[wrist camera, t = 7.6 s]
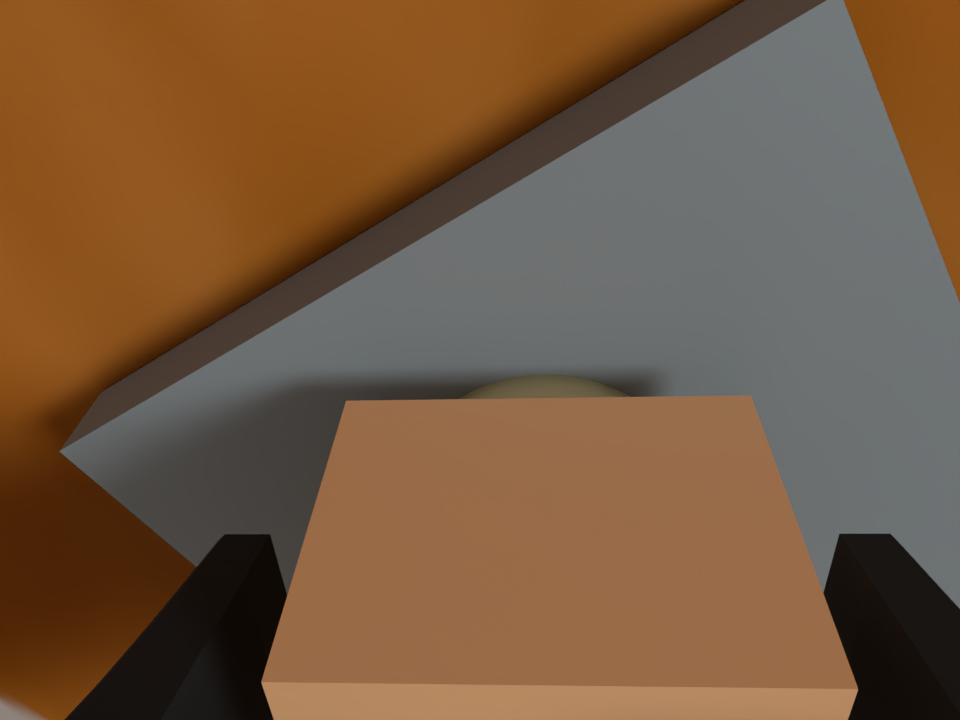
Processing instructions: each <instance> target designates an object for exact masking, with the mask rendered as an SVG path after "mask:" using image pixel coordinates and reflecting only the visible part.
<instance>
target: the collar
mask: <svg viewBox="0 0 960 720" xmlns="http://www.w3.org/2000/svg"><path fill="white" fill-rule="evenodd" d="M261 683H262V686H263V689H264V692H265V695H266V698H267V701H268V704H269V707H270V710H271V713H272V716H273V719H274V720H848V718H849V715H850V712H851V709H852V706H853V703H854V700H855V698H856V695H857V692H858V687H857V684H856V681H855V679H854V676H853V673H852V670H851V668H850V665H849V662H848V659H847V657H846V654H845V651H844V648H843V646H842V643H841V640H840V638H839V635H838V632H837V629H836V627H835V624H834V621H833V618H832V616H831V613H830V610H829V607H828V605H827V602H826V599H825V597H824V594H823V591H822V588H821V586H820V583H819V580H818V577H817V575H816V572H815V569H814V566H813V564H812V561H811V558H810V556H809V553H808V550H807V547H806V545H805V542H804V539H803V536H802V534H801V531H800V528H799V525H798V523H797V520H796V517H795V515H794V512H793V509H792V506H791V504H790V501H789V498H788V495H787V493H786V490H785V487H784V484H783V482H782V479H781V476H780V474H779V471H778V468H777V465H776V463H775V460H774V457H773V454H772V452H771V449H770V446H769V443H768V441H767V438H766V435H765V433H764V430H763V427H762V424H761V422H760V419H759V416H758V413H757V411H756V408H755V405H754V402H753V400H752V397H751V395H736V396H661V397H586V398H510V399H435V400H360V401H346V403H345V406H344V409H343V413H342V416H341V419H340V423H339V426H338V429H337V433H336V436H335V439H334V443H333V446H332V449H331V452H330V456H329V459H328V462H327V466H326V469H325V472H324V476H323V479H322V482H321V486H320V489H319V492H318V496H317V499H316V502H315V505H314V509H313V512H312V515H311V519H310V522H309V525H308V529H307V532H306V535H305V539H304V542H303V545H302V549H301V552H300V555H299V558H298V562H297V565H296V568H295V572H294V575H293V578H292V582H291V585H290V588H289V592H288V595H287V598H286V602H285V605H284V608H283V611H282V615H281V618H280V621H279V625H278V628H277V631H276V635H275V638H274V641H273V645H272V648H271V651H270V655H269V658H268V661H267V664H266V668H265V671H264V674H263V678H262V681H261Z"/></svg>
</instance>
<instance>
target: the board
mask: <svg viewBox="0 0 960 720" xmlns="http://www.w3.org/2000/svg"><path fill="white" fill-rule="evenodd" d="M736 395H751V397H752V400H753V402H754V405H755V408H756V411H757V413H758V416H759V419H760V422H761V424H762V427H763V430H764V433H765V435H766V438H767V441H768V443H769V446H770V449H771V452H772V454H773V457H774V460H775V463H776V465H777V468H778V471H779V474H780V476H781V479H782V482H783V484H784V487H785V490H786V493H787V495H788V498H789V501H790V504H791V506H792V509H793V512H794V515H795V517H796V520H797V523H798V525H799V528H800V531H801V534H802V536H803V539H804V542H805V545H806V547H807V550H808V553H809V556H810V558H811V561H812V564H813V566H814V569H815V572H816V575H817V577H818V580H819V583H820V586H821V588H822V591H823V592H824V589H825V585H826V581H827V578H828V574H829V570H830V566H831V563H832V559H833V555H834V552H835V548H836V544H837V541H838V537H839V534H891V535H892V536H893V537H894V538H895V539H896V540H897V541H898V542H899V543H900V544H901V545H902V546H903V547H904V548H905V549H906V551H907V552H908V553H909V554H910V555H911V556H912V557H913V558H914V559H915V560H916V561H917V563H918V564H919V565H920V566H921V567H922V568H923V569H924V570H925V571H926V572H927V573H928V575H929V576H930V577H931V578H932V579H933V580H934V581H935V582H936V583H937V584H938V586H939V587H940V588H941V589H942V590H943V591H944V592H945V593H946V594H947V595H948V596H949V597H950V599H951V600H952V601H953V602H954V603H955V604H956V605H957V606H958V607H959V608H960V303H959V300H958V298H957V295H956V292H955V290H954V287H953V285H952V282H951V279H950V277H949V274H948V272H947V269H946V266H945V264H944V261H943V258H942V256H941V253H940V251H939V248H938V245H937V243H936V240H935V238H934V235H933V232H932V230H931V227H930V225H929V222H928V219H927V217H926V214H925V212H924V209H923V206H922V204H921V201H920V199H919V196H918V193H917V191H916V188H915V186H914V183H913V180H912V178H911V175H910V173H909V170H908V167H907V165H906V162H905V160H904V157H903V154H902V152H901V149H900V147H899V144H898V141H897V139H896V136H895V133H894V131H893V128H892V126H891V123H890V120H889V118H888V115H887V113H886V110H885V107H884V105H883V102H882V100H881V97H880V94H879V92H878V89H877V87H876V84H875V81H874V79H873V76H872V74H871V71H870V68H869V66H868V63H867V61H866V58H865V55H864V53H863V50H862V48H861V45H860V42H859V40H858V37H857V35H856V32H855V29H854V27H853V24H852V21H851V19H850V16H849V14H848V11H847V8H846V6H845V3H844V1H843V0H745V1H743V2H741V3H740V4H738V5H736V6H735V7H733V8H732V9H730V10H728V11H727V12H725V13H723V14H722V15H720V16H718V17H717V18H715V19H713V20H712V21H710V22H709V23H707V24H705V25H704V26H702V27H700V28H699V29H697V30H695V31H694V32H692V33H690V34H689V35H687V36H686V37H684V38H682V39H681V40H679V41H677V42H676V43H674V44H672V45H671V46H669V47H667V48H666V49H664V50H663V51H661V52H659V53H658V54H656V55H654V56H653V57H651V58H649V59H648V60H646V61H644V62H643V63H641V64H640V65H638V66H636V67H635V68H633V69H631V70H630V71H628V72H626V73H625V74H623V75H621V76H620V77H618V78H617V79H615V80H613V81H612V82H610V83H608V84H607V85H605V86H603V87H602V88H600V89H598V90H597V91H595V92H594V93H592V94H590V95H589V96H587V97H585V98H584V99H582V100H580V101H579V102H577V103H575V104H574V105H572V106H571V107H569V108H567V109H566V110H564V111H562V112H561V113H559V114H557V115H556V116H554V117H552V118H551V119H549V120H548V121H546V122H544V123H543V124H541V125H539V126H538V127H536V128H534V129H533V130H531V131H529V132H528V133H526V134H525V135H523V136H521V137H520V138H518V139H516V140H515V141H513V142H511V143H510V144H508V145H506V146H505V147H503V148H502V149H500V150H498V151H497V152H495V153H493V154H492V155H490V156H488V157H487V158H485V159H483V160H482V161H480V162H478V163H477V164H475V165H474V166H472V167H470V168H469V169H467V170H465V171H464V172H462V173H460V174H459V175H457V176H455V177H454V178H452V179H451V180H449V181H447V182H446V183H444V184H442V185H441V186H439V187H437V188H436V189H434V190H432V191H431V192H429V193H428V194H426V195H424V196H423V197H421V198H419V199H418V200H416V201H414V202H413V203H411V204H409V205H408V206H406V207H405V208H403V209H401V210H400V211H398V212H396V213H395V214H393V215H391V216H390V217H388V218H386V219H385V220H383V221H382V222H380V223H378V224H377V225H375V226H373V227H372V228H370V229H368V230H367V231H365V232H363V233H362V234H360V235H359V236H357V237H355V238H354V239H352V240H350V241H349V242H347V243H345V244H344V245H342V246H340V247H339V248H337V249H336V250H334V251H332V252H331V253H329V254H327V255H326V256H324V257H322V258H321V259H319V260H317V261H316V262H314V263H313V264H311V265H309V266H308V267H306V268H304V269H303V270H301V271H299V272H298V273H296V274H294V275H293V276H291V277H290V278H288V279H286V280H285V281H283V282H281V283H280V284H278V285H276V286H275V287H273V288H271V289H270V290H268V291H267V292H265V293H263V294H262V295H260V296H258V297H257V298H255V299H253V300H252V301H250V302H248V303H247V304H245V305H244V306H242V307H240V308H239V309H237V310H235V311H234V312H232V313H230V314H229V315H227V316H225V317H224V318H222V319H221V320H219V321H217V322H216V323H214V324H212V325H211V326H209V327H207V328H206V329H204V330H202V331H201V332H199V333H198V334H196V335H194V336H193V337H191V338H189V339H188V340H186V341H184V342H183V343H181V344H179V345H178V346H176V347H175V348H173V349H171V350H170V351H168V352H166V353H165V354H163V355H161V356H160V357H158V358H156V359H155V360H153V361H152V362H150V363H148V364H147V365H145V366H143V367H142V368H140V369H138V370H137V371H135V372H133V373H132V374H130V375H129V376H127V377H125V378H124V379H122V380H120V381H119V382H117V383H115V384H114V385H112V386H110V387H109V388H107V389H105V390H104V391H102V392H101V393H100V395H99V396H98V397H97V399H96V400H95V402H94V403H93V404H92V406H91V407H90V409H89V410H88V411H87V413H86V414H85V416H84V417H83V418H82V420H81V421H80V423H79V424H78V425H77V427H76V428H75V430H74V431H73V432H72V434H71V435H70V437H69V438H68V439H67V441H66V442H65V444H64V445H63V446H62V448H61V449H60V451H59V452H60V453H62V454H63V455H64V456H65V457H66V458H67V459H69V460H70V461H71V462H72V463H73V464H75V465H76V466H77V467H78V468H79V469H80V470H82V471H83V472H84V473H85V474H86V475H88V476H89V477H90V478H91V479H92V480H94V481H95V482H96V483H97V484H98V485H99V486H101V487H102V488H103V489H104V490H105V491H107V492H108V493H109V494H110V495H111V496H112V497H114V498H115V499H116V500H117V501H118V502H120V503H121V504H122V505H123V506H124V507H126V508H127V509H128V510H129V511H130V512H131V513H133V514H134V515H135V516H136V517H137V518H139V519H140V520H141V521H142V522H143V523H144V524H146V525H147V526H148V527H149V528H150V529H152V530H153V531H154V532H155V533H156V534H158V535H159V536H160V537H161V538H162V539H163V540H165V541H166V542H167V543H168V544H169V545H171V546H172V547H173V548H174V549H175V550H176V551H178V552H179V553H180V554H181V555H182V556H184V557H185V558H186V559H187V560H188V561H190V562H191V563H192V564H193V565H194V566H195V567H197V566H198V565H199V563H200V562H201V561H202V560H203V559H204V557H205V556H206V555H207V554H208V552H209V551H210V550H211V549H212V548H213V546H214V545H215V544H216V543H217V541H218V540H219V539H220V538H221V537H222V536H223V535H224V534H270V536H271V539H272V543H273V546H274V550H275V553H276V557H277V560H278V564H279V568H280V571H281V575H282V578H283V582H284V585H285V589H286V593H287V595H288V592H289V588H290V585H291V582H292V578H293V575H294V572H295V568H296V565H297V562H298V558H299V555H300V552H301V549H302V545H303V542H304V539H305V535H306V532H307V529H308V525H309V522H310V519H311V515H312V512H313V509H314V505H315V502H316V499H317V496H318V492H319V489H320V486H321V482H322V479H323V476H324V472H325V469H326V466H327V462H328V459H329V456H330V452H331V449H332V446H333V443H334V439H335V436H336V433H337V429H338V426H339V423H340V419H341V416H342V413H343V409H344V406H345V403H346V401H360V400H435V399H510V398H586V397H661V396H736Z"/></svg>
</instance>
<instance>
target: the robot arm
mask: <svg viewBox="0 0 960 720" xmlns="http://www.w3.org/2000/svg"><path fill="white" fill-rule="evenodd" d="M823 594H824V597H825V599H826V602H827V605H828V607H829V610H830V613H831V616H832V618H833V621H834V624H835V627H836V629H837V632H838V635H839V638H840V640H841V643H842V646H843V648H844V651H845V654H846V657H847V659H848V662H849V665H850V668H851V670H852V673H853V676H854V679H855V681H856V684H857V687H858V692H857V695H856V698H855V700H854V703H853V706H852V709H851V712H850V715H849V718H848V720H960V608H959V607H958V606H957V605H956V604H955V603H954V602H953V601H952V600H951V599H950V597H949V596H948V595H947V594H946V593H945V592H944V591H943V590H942V589H941V588H940V587H939V586H938V584H937V583H936V582H935V581H934V580H933V579H932V578H931V577H930V576H929V575H928V573H927V572H926V571H925V570H924V569H923V568H922V567H921V566H920V565H919V564H918V563H917V561H916V560H915V559H914V558H913V557H912V556H911V555H910V554H909V553H908V552H907V551H906V549H905V548H904V547H903V546H902V545H901V544H900V543H899V542H898V541H897V540H896V539H895V538H894V537H893V536H892V535H891V534H839V537H838V541H837V544H836V548H835V552H834V555H833V559H832V563H831V566H830V570H829V574H828V578H827V581H826V585H825V589H824V592H823ZM286 598H287V593H286V589H285V585H284V582H283V578H282V575H281V571H280V568H279V564H278V560H277V557H276V553H275V550H274V546H273V543H272V539H271V536H270V534H224V535H223V536H222V537H221V538H220V539H219V540H218V541H217V543H216V544H215V545H214V546H213V548H212V549H211V550H210V551H209V552H208V554H207V555H206V556H205V557H204V559H203V560H202V561H201V562H200V563H199V565H198V566H197V567H196V568H195V570H194V571H193V572H192V573H191V575H190V576H189V577H188V578H187V580H186V581H185V582H184V583H183V584H182V586H181V587H180V588H179V589H178V591H177V592H176V593H175V594H174V595H173V597H172V598H171V599H170V600H169V602H168V603H167V604H166V605H165V606H164V608H163V609H162V610H161V611H160V612H159V614H158V615H157V616H156V617H155V618H154V620H153V621H152V622H151V623H150V624H149V626H148V627H147V628H146V629H145V630H144V631H143V633H142V634H141V635H140V636H139V637H138V638H137V640H136V641H135V642H134V643H133V644H132V645H131V647H130V648H129V649H128V650H127V651H126V652H125V653H124V655H123V656H122V657H121V658H120V659H119V660H118V662H117V663H116V664H115V665H114V666H113V667H112V668H111V670H110V671H109V672H108V673H107V674H106V675H105V677H104V678H103V679H102V680H101V681H100V682H99V683H98V684H97V685H96V687H95V688H94V689H93V690H92V691H91V692H90V693H89V694H88V695H87V696H86V697H85V698H84V700H83V701H82V702H81V703H80V704H79V705H78V706H77V707H76V708H75V709H74V710H73V711H72V712H71V713H70V714H69V716H68V717H67V718H66V719H65V720H274V719H273V716H272V713H271V710H270V707H269V704H268V701H267V698H266V695H265V692H264V689H263V686H262V683H261V681H262V678H263V674H264V671H265V668H266V664H267V661H268V658H269V655H270V651H271V648H272V645H273V641H274V638H275V635H276V631H277V628H278V625H279V621H280V618H281V615H282V611H283V608H284V605H285V602H286Z"/></svg>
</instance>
